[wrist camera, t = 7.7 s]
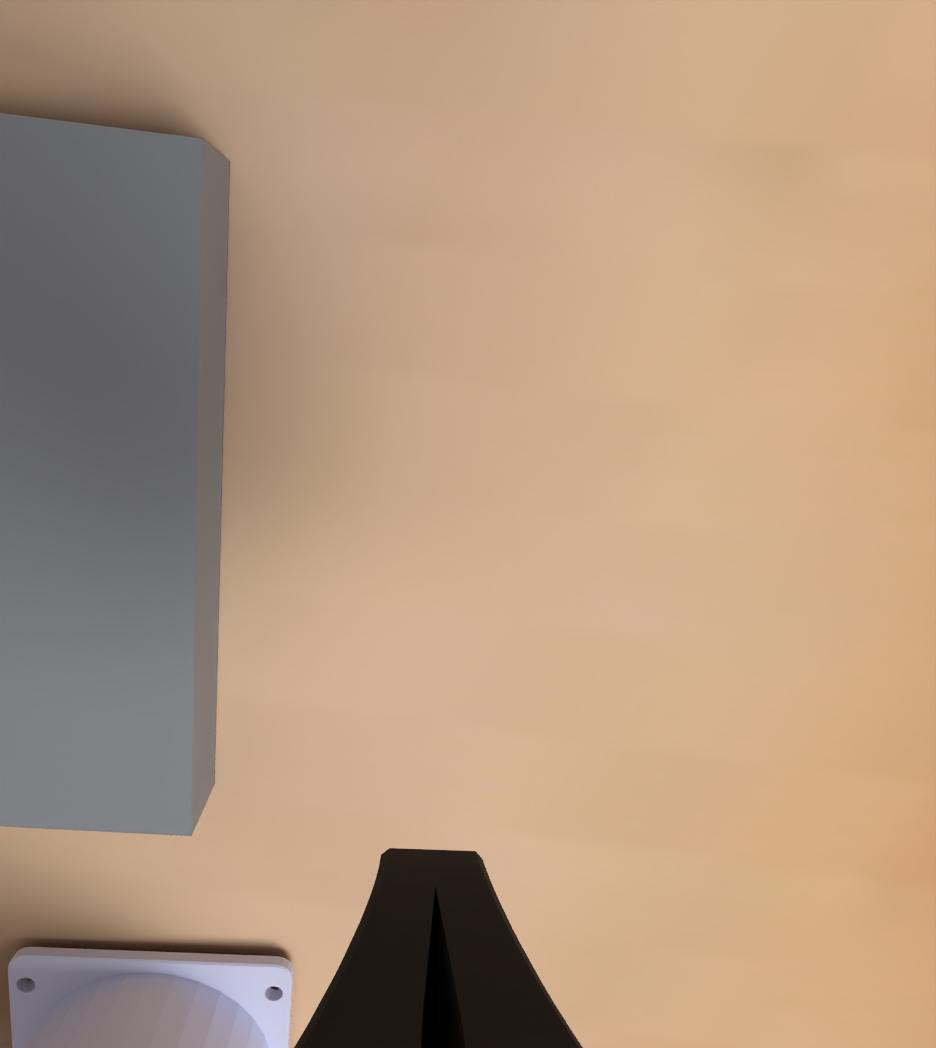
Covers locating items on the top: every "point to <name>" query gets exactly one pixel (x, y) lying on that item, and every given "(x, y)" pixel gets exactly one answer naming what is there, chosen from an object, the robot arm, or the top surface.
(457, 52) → the top surface
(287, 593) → the top surface
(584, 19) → the top surface
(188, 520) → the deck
